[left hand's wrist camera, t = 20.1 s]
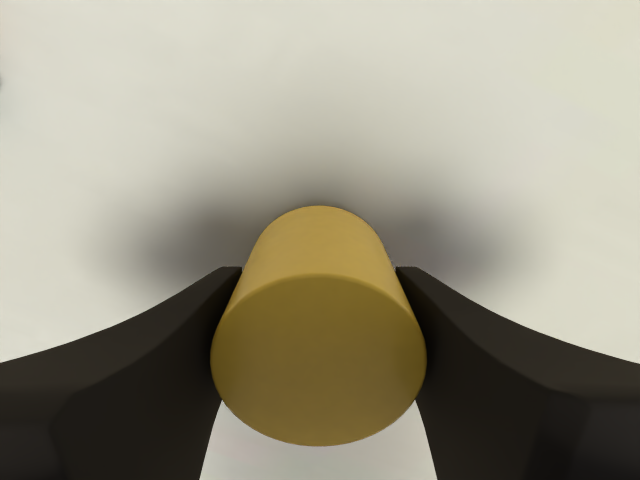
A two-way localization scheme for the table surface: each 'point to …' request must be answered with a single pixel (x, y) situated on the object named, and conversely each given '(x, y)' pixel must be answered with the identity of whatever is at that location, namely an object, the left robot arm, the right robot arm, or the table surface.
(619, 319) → the table surface
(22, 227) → the table surface
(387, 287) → the tin
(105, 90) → the table surface
